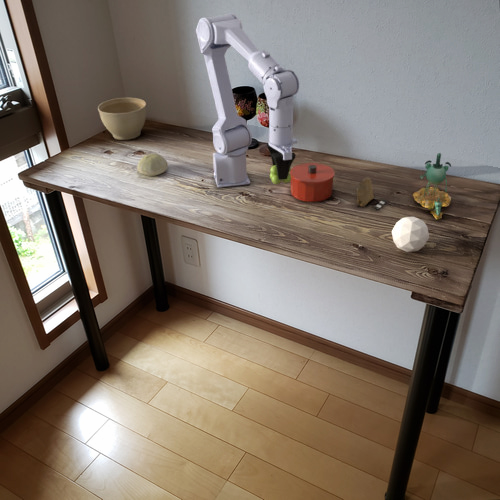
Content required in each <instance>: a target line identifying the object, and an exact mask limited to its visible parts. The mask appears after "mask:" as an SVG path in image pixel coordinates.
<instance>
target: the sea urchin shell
mask: <svg viewBox="0 0 500 500" xmlns="http://www.w3.org/2000/svg"><path fill="white" fill-rule="evenodd" d="M168 168H169V164H168V161H167V159H166V158H165V157H164V156H162V155H161V154H158V153H149V154H146V155H144V156H142V157H141V158H140V159H139V160H138V162H137V165H136V169H137V172H138V173H139V174H140V175H143V176H148V177H156V176H157V175H159V176H160V175H161V174H163V173H165V172H166V171H167V170H168Z"/></svg>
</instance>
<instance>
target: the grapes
mask: <svg viewBox="0 0 500 500" xmlns="http://www.w3.org/2000/svg"><path fill="white" fill-rule="evenodd" d="M291 169H292V168H291V166H290V170H289V173H288V177H287V179H282V180H279V178H278V175H277V168H276V165H274V166H273V165H272V166H271V167H270V170H269V171H270V174H269V178H270V180H271V182H272V184H274V185H279V184H280V183H281V182H283V183H284V184H288V183H291V175H290V171H291Z"/></svg>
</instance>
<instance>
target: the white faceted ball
mask: <svg viewBox="0 0 500 500" xmlns="http://www.w3.org/2000/svg"><path fill="white" fill-rule="evenodd" d="M391 235H392V241H393V243H394V244H395V246H396V248H397V249H399V250H400V251H401V250H402V251H404V252H406V253H412V252H418V251H420V250H421V249H422V248H424V247H425V245H426V243H427V242H428V240H429V238H430V234H429V228H428V225H427V224H426V223H425V222H424V220H423V219H421V218H418V217H416V216H406V217H402V218H400V219H399V220H398V221H397V222H396V223H395V225H394V226H393V228H392V230H391Z"/></svg>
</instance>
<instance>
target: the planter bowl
mask: <svg viewBox="0 0 500 500" xmlns="http://www.w3.org/2000/svg"><path fill="white" fill-rule="evenodd" d="M97 111H98V113H99V117H100V119H101V122H102V124H103V125H104V127H105V128H106V130H108V132H109V133H110V134H111V135H112V137H113V138H114V139H115V140H120V141H127V140H128V141H129V140H133V139H136V138H138V137H140V136H141V132H142V130H143V127H144V125H145V122H146V118H147V102H146V101H145V100H143V99H141V98H137V97H117V98H112V99H109V100H106V101H103V102H101V103H100V104H98V106H97Z"/></svg>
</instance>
